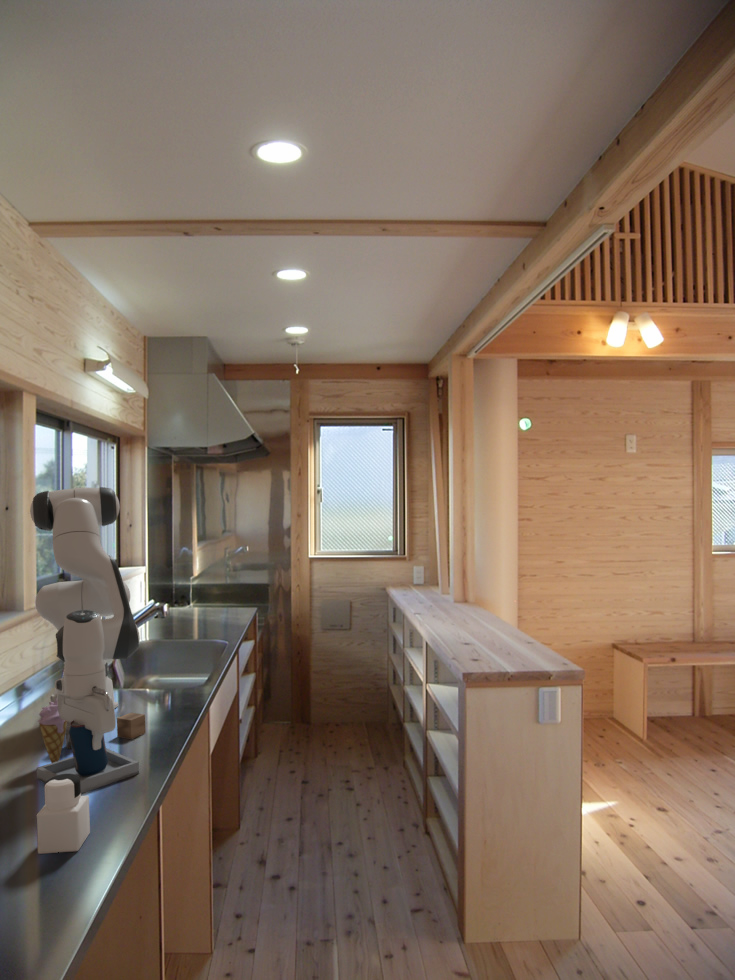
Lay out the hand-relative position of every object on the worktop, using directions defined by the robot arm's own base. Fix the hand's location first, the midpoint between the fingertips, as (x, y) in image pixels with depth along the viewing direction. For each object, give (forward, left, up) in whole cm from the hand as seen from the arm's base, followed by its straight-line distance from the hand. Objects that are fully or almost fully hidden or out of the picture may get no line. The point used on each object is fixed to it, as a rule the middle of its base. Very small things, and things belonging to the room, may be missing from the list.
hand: (87, 745), depth 162 cm
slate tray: (0, 0, -7) cm, 7 cm away
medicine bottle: (+27, -18, -7) cm, 33 cm away
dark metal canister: (-22, +8, -7) cm, 25 cm away
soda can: (0, +1, -6) cm, 6 cm away
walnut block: (-18, +21, -7) cm, 29 cm away
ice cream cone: (-14, -1, -7) cm, 16 cm away
